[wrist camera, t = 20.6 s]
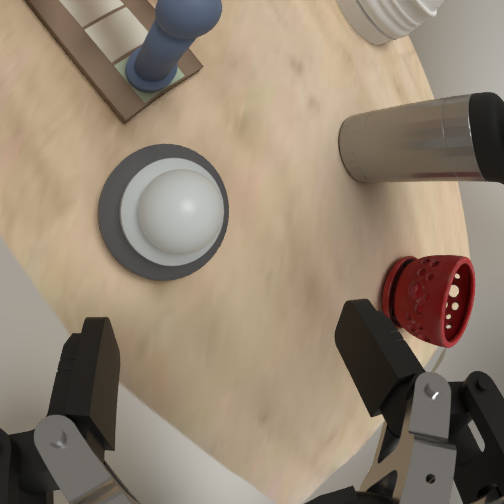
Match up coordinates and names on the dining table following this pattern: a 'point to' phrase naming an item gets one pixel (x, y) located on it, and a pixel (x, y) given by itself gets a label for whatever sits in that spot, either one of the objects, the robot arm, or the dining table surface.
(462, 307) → the plant pot
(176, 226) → the pop dome
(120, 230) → the dome base
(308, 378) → the dining table surface
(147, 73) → the pawn
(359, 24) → the honey pot
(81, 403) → the robot arm
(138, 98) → the game board
